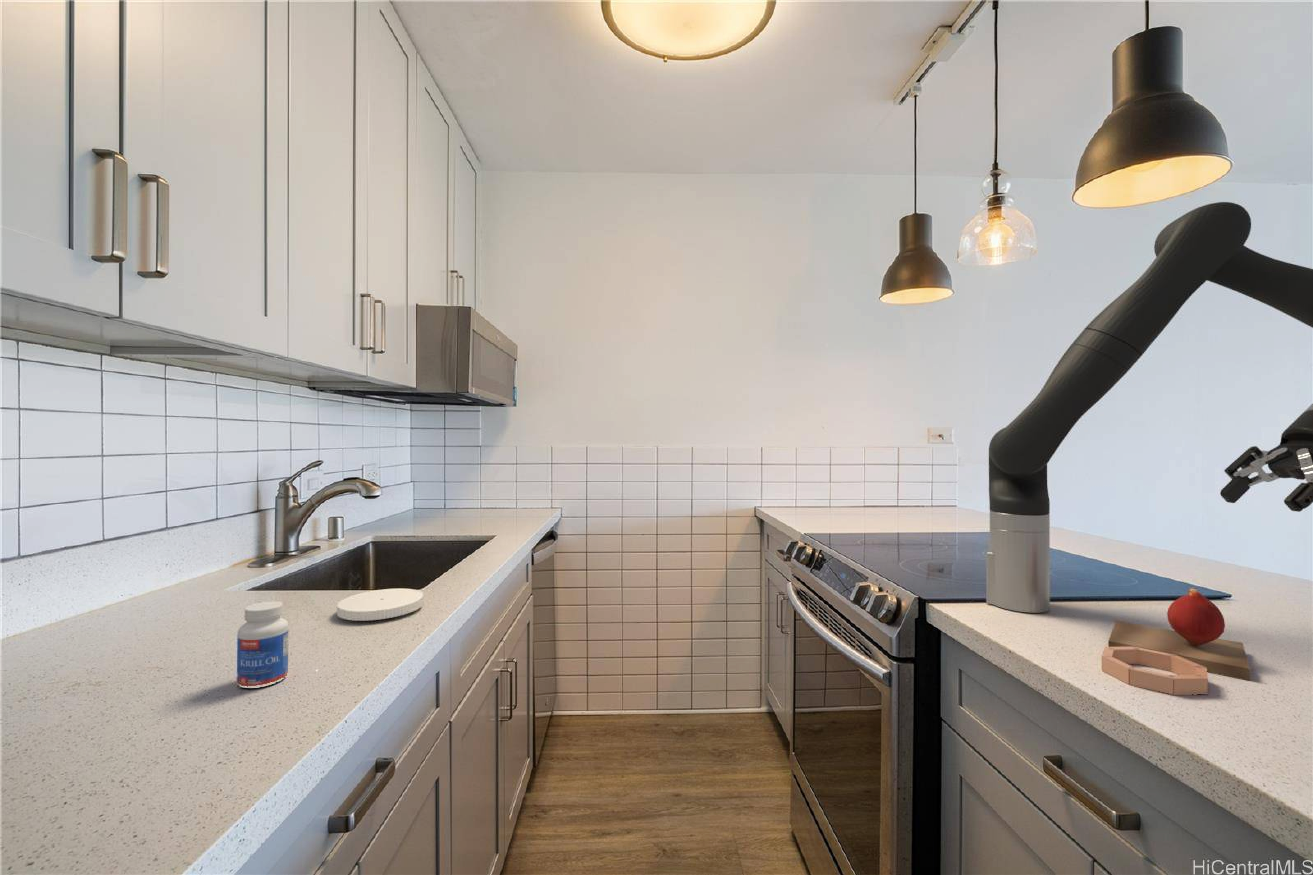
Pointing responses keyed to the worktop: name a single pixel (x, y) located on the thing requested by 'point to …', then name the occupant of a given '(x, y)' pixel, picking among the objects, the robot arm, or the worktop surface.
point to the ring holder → (1185, 683)
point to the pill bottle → (262, 645)
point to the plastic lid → (380, 604)
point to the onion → (1196, 618)
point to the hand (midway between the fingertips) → (1256, 502)
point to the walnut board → (1184, 648)
